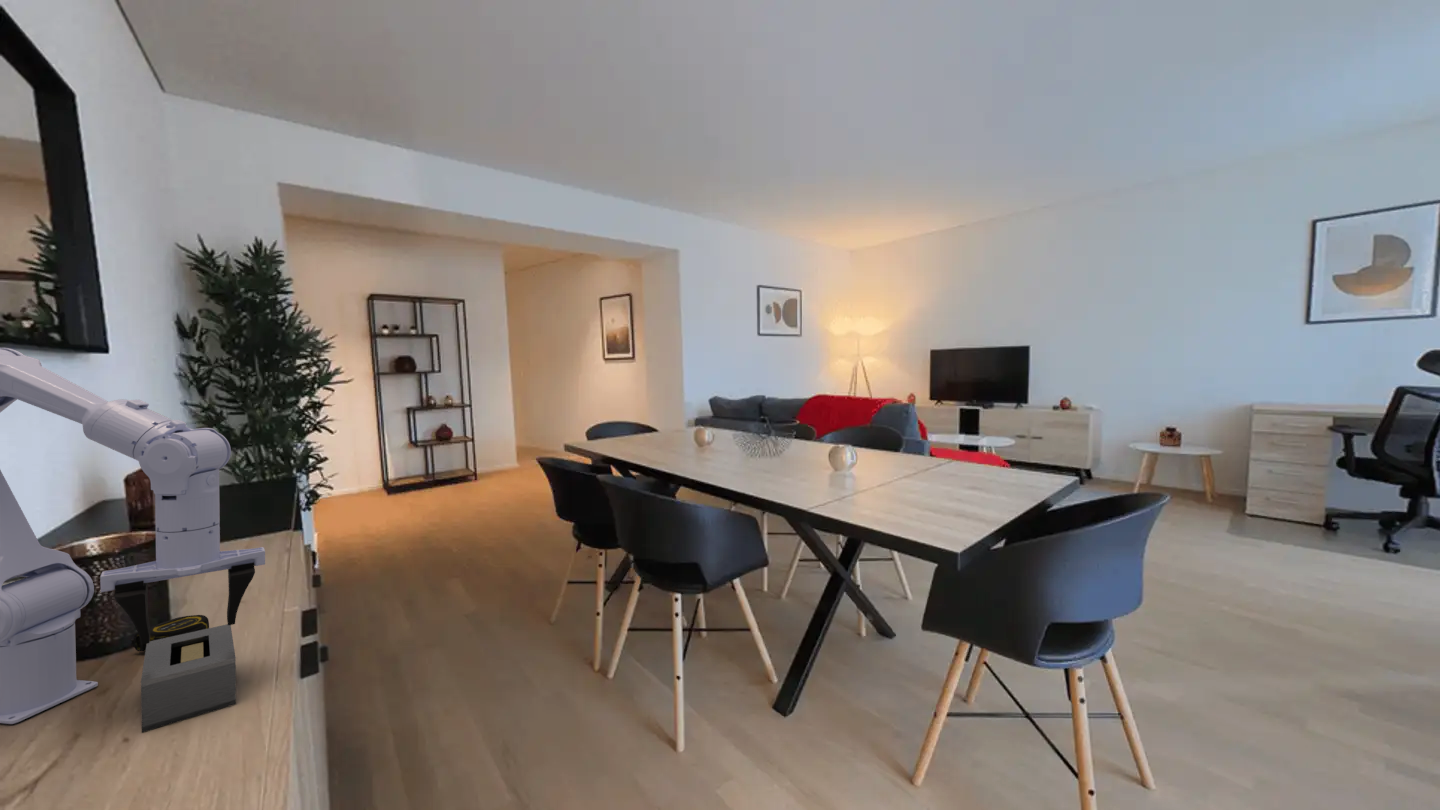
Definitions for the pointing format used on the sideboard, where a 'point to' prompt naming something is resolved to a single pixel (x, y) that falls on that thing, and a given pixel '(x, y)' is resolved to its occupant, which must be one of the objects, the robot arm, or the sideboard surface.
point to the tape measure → (173, 629)
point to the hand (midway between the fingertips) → (190, 631)
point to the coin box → (187, 677)
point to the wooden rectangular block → (192, 652)
